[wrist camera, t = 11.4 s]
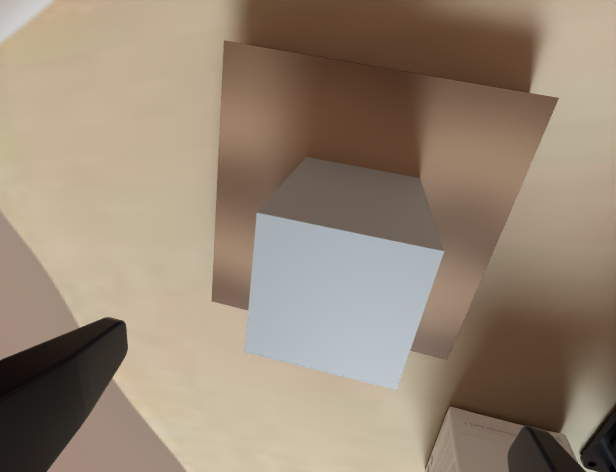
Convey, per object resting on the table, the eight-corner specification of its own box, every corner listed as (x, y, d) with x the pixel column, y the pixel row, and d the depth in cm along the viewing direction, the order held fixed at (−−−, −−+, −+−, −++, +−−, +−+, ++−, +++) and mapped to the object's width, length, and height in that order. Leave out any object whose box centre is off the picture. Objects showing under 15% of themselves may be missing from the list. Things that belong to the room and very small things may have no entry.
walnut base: (439, 323, 22) (446, 359, 19) (231, 274, 23) (211, 301, 21) (530, 93, 16) (558, 98, 14) (248, 44, 18) (224, 40, 15)
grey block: (392, 277, 18) (396, 389, 12) (292, 255, 18) (244, 352, 12) (420, 178, 16) (444, 251, 9) (305, 156, 16) (256, 212, 10)
